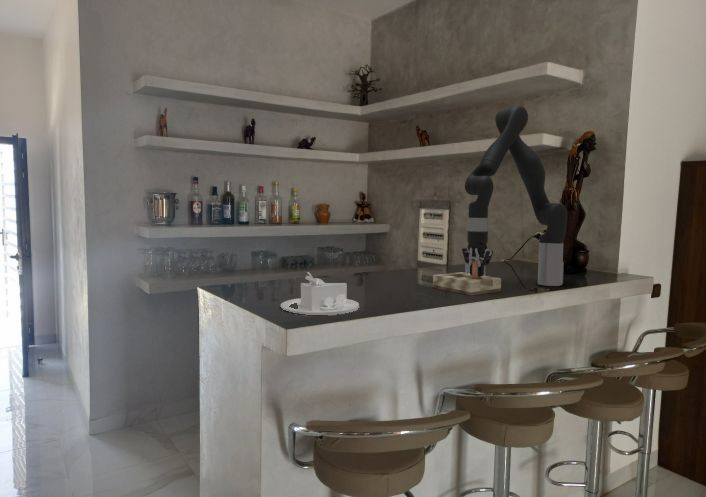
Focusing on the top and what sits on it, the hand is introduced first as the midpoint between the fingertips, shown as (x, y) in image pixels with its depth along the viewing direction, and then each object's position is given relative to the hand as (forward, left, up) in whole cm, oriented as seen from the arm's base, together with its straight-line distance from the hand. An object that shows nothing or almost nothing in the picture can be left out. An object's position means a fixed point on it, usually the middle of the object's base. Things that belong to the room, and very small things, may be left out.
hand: (476, 275), depth 192 cm
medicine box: (-18, -17, -6) cm, 26 cm away
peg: (0, 0, -5) cm, 5 cm away
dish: (+64, -7, -7) cm, 65 cm away
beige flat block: (0, -5, -6) cm, 8 cm away
